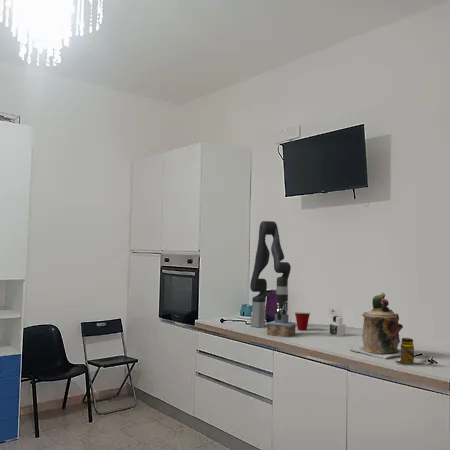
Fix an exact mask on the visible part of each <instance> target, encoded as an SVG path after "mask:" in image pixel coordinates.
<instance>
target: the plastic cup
mask: <svg viewBox="0 0 450 450" xmlns="http://www.w3.org/2000/svg"><path fill="white" fill-rule="evenodd" d="M294 315H295V321H296V326H297V330H298V331H307V330H308V326H309V319H310V316H311V312H307V311H306V312H304V311H302V312H301V311H295V312H294Z"/></svg>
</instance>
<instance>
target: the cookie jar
mask: <svg viewBox="0 0 450 450" xmlns="http://www.w3.org/2000/svg"><path fill="white" fill-rule="evenodd" d="M385 297H386V294H385V292H381V294H378V295H375V296H373V298H372V304H371V305H372V310H369V311H364V312H363V313H362V315H361V316H362V317H363V326H362V334H361V337H362V342H363V346H355V347H350V348H349V350H350V351H351V352H355V353H361V354H363V355H365V356H366V355H367V356H371V357H375V358H380V359H384V360H385V359H388V358H393V357H401V348H400V349H399V348H398V346H399V344H401V339H400V331H402V329H403V328H404V326H403V324H402V323H399V320H400V317H399V314H398V313H395V312H394V311H393V310H392V309H390V308H389V307H388V306H389V300H388V299H385Z"/></svg>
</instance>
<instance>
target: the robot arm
mask: <svg viewBox="0 0 450 450" xmlns="http://www.w3.org/2000/svg"><path fill="white" fill-rule="evenodd" d="M267 236H272V243H271V247H270V250H269V248H268V247H269V246H268V245H267V242H266V237H267ZM270 252H271V253H270ZM270 254H272V255H271V256H272V258H273V269H274V270H273V271H275V273H277V274H282V275H281V276H277V277H276V289H275V294H276V295H275V301H276V302H277V303H276V304H275V314H278V315H277V319H278V320H281V314H283V315H287V312H288V307H289V306H288V301H289V286H288V283H289V282H288V281H289V280H288V279H289V277H290V274H291V269H292V268H291V264H290V263H289V262H286V261H283V260H284V259H285V255H284V251H283V249H282V245H281V240H280V235H279V227H278V224H277V223H276V221H271V220H268V221H267V220H266V221H264V220H262V221H260V224H259V230H258V241H257V249H256V252H255V261H254V266H253V271H252V276H251V280H250V284H249V285H250V286H249V288H250V290H251V292H253V293H254V292H255V293H258V294H257V295H254V296H253V297H252V306H251V307H252V308H251V312H250V327H253V328H265V327H266V308H267V307H266V305H267V303H266V300H267V291H268V290H267V289H268V284H267V283H268V282H267V280H266V278H260V275H261V273H262V272H263V270H265V268H266V267H267V266H268V264H269V261H270Z"/></svg>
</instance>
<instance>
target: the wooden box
mask: <svg viewBox="0 0 450 450" xmlns="http://www.w3.org/2000/svg"><path fill="white" fill-rule="evenodd" d="M266 328H267V329H266V332H267V333H266V335H267V336H272V337H280V338H281V337H283V338H290V337H292V336H294V335H296V324H295V325H294V326H291V327H289V326H283V325H273V324H268V323H267V327H266Z"/></svg>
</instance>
